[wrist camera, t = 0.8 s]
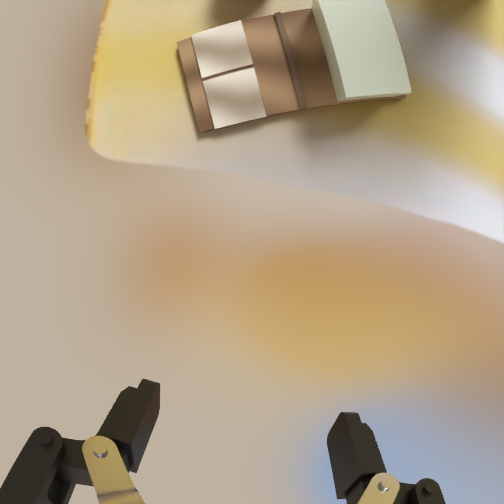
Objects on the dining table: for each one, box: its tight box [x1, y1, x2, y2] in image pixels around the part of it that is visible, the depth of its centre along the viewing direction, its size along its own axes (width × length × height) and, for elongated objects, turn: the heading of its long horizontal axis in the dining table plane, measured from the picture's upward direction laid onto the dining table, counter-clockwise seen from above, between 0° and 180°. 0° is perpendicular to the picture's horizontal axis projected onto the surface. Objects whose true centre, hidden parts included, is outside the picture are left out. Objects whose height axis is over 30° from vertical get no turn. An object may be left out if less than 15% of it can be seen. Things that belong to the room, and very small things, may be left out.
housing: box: [312, 0, 412, 102], centre depth 20 cm, size 11×6×6 cm, turn 13°
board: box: [177, 9, 406, 132], centre depth 24 cm, size 11×22×1 cm, turn 103°
